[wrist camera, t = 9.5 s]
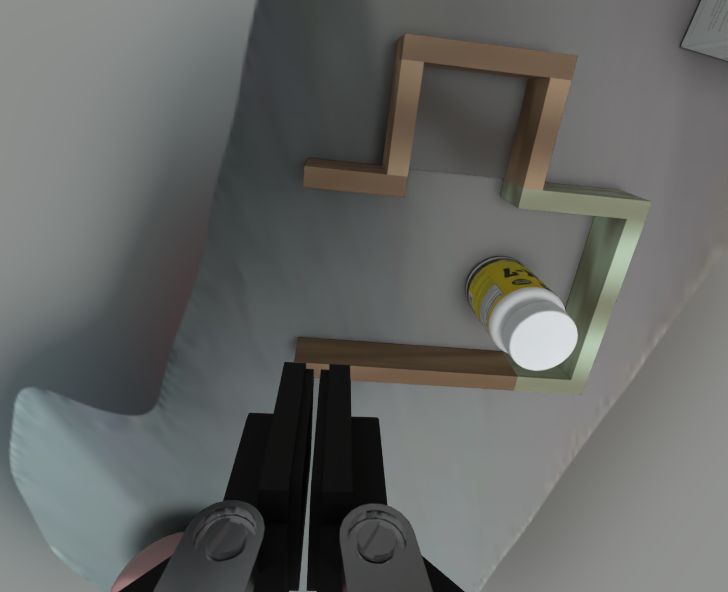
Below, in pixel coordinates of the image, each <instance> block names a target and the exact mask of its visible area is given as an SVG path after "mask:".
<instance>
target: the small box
mask: <svg viewBox="0 0 728 592" xmlns="http://www.w3.org/2000/svg"><path fill="white" fill-rule="evenodd" d="M681 47H682V48H686V49H689V50H693V51H696V52H699V53H703V54H706V55H710V56H713V57H716V58H720V59H723V60H726V61H728V0H701V2H700V4H699V6H698V9H697V11H696V13H695V15H694V18H693V20H692V22H691V25H690V27H689V29H688V31H687V34H686V36H685V38H684V40H683V42H682V45H681Z"/></svg>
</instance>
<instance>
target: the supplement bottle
mask: <svg viewBox="0 0 728 592" xmlns="http://www.w3.org/2000/svg"><path fill="white" fill-rule="evenodd" d="M466 296H467V300H468V302H469V304H470V306H471V307H472V309H473V310H474V312H475V314H476V315H477V317H478V318H479V320H480V321H481V323H482V324H483V326H484V328H485V329H486V331H487V332H488V334H489V335H490V337H491V338H492V340H493V341H494V343H495V344H496V345H497V346H498V347H499V348H500V349H501V350H503V351H504V352H506V353H508V354H509V355H510V356H511V357H512V359H513V360H514V361H515V362H516V363H517V364H518V365H519V366H521V367H523V368H525V369H528V370H534V371H540V370H546V369H549V368H552V367H555V366H557V365H559V364H560V363H562V362H563V361H564V360H565V359H566V358H568V356H569V355H570V354H571V353H572V351H573V350H574V348H575V346H576V343H577V338H578V333H577V327H576V325H575V323H574V321H573V320H572V319H571V318H570V316H569V315H568V314H567V313H566V311H565V308H564V305H563V303H562V302H561V300H560V299H559V298H558V297H557V295H556V294H555V293H553V292H552V291H551V290H550V289H549V288H548V287H547V286H546V285H544V284H543V283H542V282H541V281H540V280H539V279H538V278H537V277H536V276H535V275H534V274H532V273H531V272H530V271H529V270H528V269H527V268H526V267H525V266H524V265H523V264H521V263H520V262H519V261H517V260H515V259H512V258H508V257H495V258H491V259H488V260H486V261H484V262H482V263H481V264H479V265H478V266H477V267H476V268H475V269H474V270H473V272H472V273H471V275H470V276H469V279H468V281H467V285H466Z"/></svg>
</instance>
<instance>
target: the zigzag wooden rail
mask: <svg viewBox="0 0 728 592" xmlns="http://www.w3.org/2000/svg"><path fill="white" fill-rule="evenodd" d="M577 58H578V56H576V55H568V54H560V53H553V52H545V51H537V50H529V49H522V48H514V47H506V46H499V45H491V44H483V43H476V42H468V41H460V40H452V39H445V38H437V37H429V36H422V35H414V34H406V33H405V34H404V35H403V36H401V37H400V38H399V39H398V40H397V48H396V56H395V64H394V73H393V81H392V89H391V98H390V106H389V114H388V123H387V131H386V139H385V148H384V156H383V164H382V165H372V164H363V163H353V162H344V161H334V160H324V159H315V158H308V160H307V162H306V164H305V166H304V184H303V187H306V188H317V189H327V190H337V191H347V192H357V193H367V194H378V195H388V196H398V197H405V192H406V185H407V178H408V171H409V169H416V170H426V171H436V172H445V173H455V174H465V175H474V176H484V177H493V178H503V179H504V181H503V185H502V190H501V194H500V196H501V197H502V198H504V199H505V200H507V201H508V202H510V203H511V204H513V205H514V206H516V207H517V208H520V209H530V210H540V211H551V212H561V213H571V214H581V215H591V216H595V217H594V220H593V224H592V227H591V230H590V233H589V236H588V239H587V242H586V246H585V249H584V252H583V255H582V258H581V261H580V265H579V268H578V271H577V274H576V277H575V280H574V283H573V287H572V290H571V293H570V296H569V299H568V302H567V305H566V309H565V311H566V313H567V314H568V315H569V316H570V318H571V319H572V320H573V321H574V323H575V325H576V327H577V333H578V338H577V343H576V346H575V348H574V350H573V351H572V353H571V354H570V355H569V356H568V358H566V359H565V360H564V361H563V362H562V363H560V364H559V365H557V366H555V367H552V368H549V369H546V370H540V371H534V370H528V369H525V368H523V367H521V366H519V365H518V364H517V363H516V362H515V361H514V360H513V359H512V357H511V356H510V355H509V354H508V353H506V352H504V351H489V350H475V349H461V348H447V347H432V346H418V345H404V344H390V343H375V342H361V341H347V340H332V339H318V338H304V337H298V342H297V348H296V354H295V360H294V363H306V369H314V378H320V372H321V369H325V370H329V364H340V365H350V379H351V380H354V381H370V382H386V383H402V384H418V385H434V386H450V387H466V388H482V389H498V390H514V391H530V392H546V393H562V394H578V395H582V393H583V390H584V387H585V385H586V382H587V379H588V376H589V374H590V371H591V368H592V365H593V363H594V360H595V357H596V354H597V352H598V349H599V346H600V343H601V341H602V338H603V335H604V332H605V330H606V327H607V324H608V321H609V319H610V316H611V313H612V310H613V308H614V305H615V302H616V300H617V297H618V294H619V291H620V289H621V286H622V283H623V280H624V278H625V275H626V272H627V269H628V267H629V264H630V261H631V258H632V256H633V253H634V250H635V247H636V245H637V242H638V239H639V236H640V234H641V231H642V228H643V225H644V223H645V220H646V217H647V214H648V212H649V209H650V206H651V203H652V201H649V200H646V199H643V198H640V197H638V196H635V195H632V194H629V193H627V192H624V191H621V190H613V189H603V188H594V187H584V186H575V185H565V184H555V183H546V182H545V179H546V175H547V171H548V168H549V164H550V160H551V156H552V153H553V149H554V145H555V141H556V137H557V134H558V130H559V126H560V122H561V118H562V115H563V111H564V107H565V103H566V100H567V96H568V92H569V88H570V84H571V81H572V77H573V73H574V69H575V65H576V62H577Z"/></svg>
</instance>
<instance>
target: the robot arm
mask: <svg viewBox="0 0 728 592" xmlns="http://www.w3.org/2000/svg"><path fill="white" fill-rule="evenodd" d="M313 386H314V369H306V363H294V362H285V363H284V367H283V372H282V376H281V381H280V386H279V391H278V395H277V400H276V405H275V410H274V414H267V413H249V414H248V417H247V420H246V423H245V427H244V430H243V434H242V437H241V441H240V444H239V448H238V451H237V455H236V458H235V462H234V465H233V469H232V472H231V476H230V479H229V483H228V486H227V490H226V493H225V497H224V500H223V501H222V502H218V503H214V504H212V505H210V506H208V507H206V508H204V509H203V510H202V511H201V512H199V513H198V514H197V515H196V516H195V517H194V518H193V519H192V521H191V522H190V524H189V525H188V526H187V528H186V530H185V532H184V534H183V536H182V538H181V540H180V542H179V544H178V545H177V547H176V549H175V551H174V553H173V555H171V556H170V557H168V558H167V559H166V560H164V561H163V562H161V563H160V564H158V565H157V566H155V567H154V568H152V569H151V570H149V571H148V572H146V573H145V574H143V575H142V576H141V577H139V578H138V579H136V580H135V581H133V582H132V583H130V584H129V585H127V586H126V587H124V588H123V589H121V590H120V591H118V592H289V591H298V590H299V582H300V571H301V560H302V548H303V537H304V526H305V515H306V504H307V493H308V482H309V471H310V459H311V439H312V413H313ZM307 591H317V592H464V591H463V590H462V589H461V588H460V587H458V586H457V585H456V584H455V583H454V582H452V581H451V580H450V579H449V578H448V577H447V576H445V575H444V574H443V573H442V572H441V571H439V570H438V569H437V568H436V567H435V566H433V565H432V564H431V563H430V562H429V561H428V560H426V559H425V558H424V557H423V556H422V555H421V552H420V549H419V546H418V543H417V540H416V536H415V533H414V530H413V528H412V526H411V524H410V522H409V521H408V520H407V519H406V518H405V516H404V515H403V514H402V513H400V512H399V511H397V510H396V509H394V508H392V507H390V506H387V497H386V487H385V477H384V467H383V456H382V446H381V436H380V426H379V419H378V418H376V417H351V379H350V365H340V364H329V370H325V369H321V372H320V384H319V396H318V408H317V420H316V432H315V444H314V456H313V468H312V481H311V496H310V520H309V546H308V571H307Z"/></svg>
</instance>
